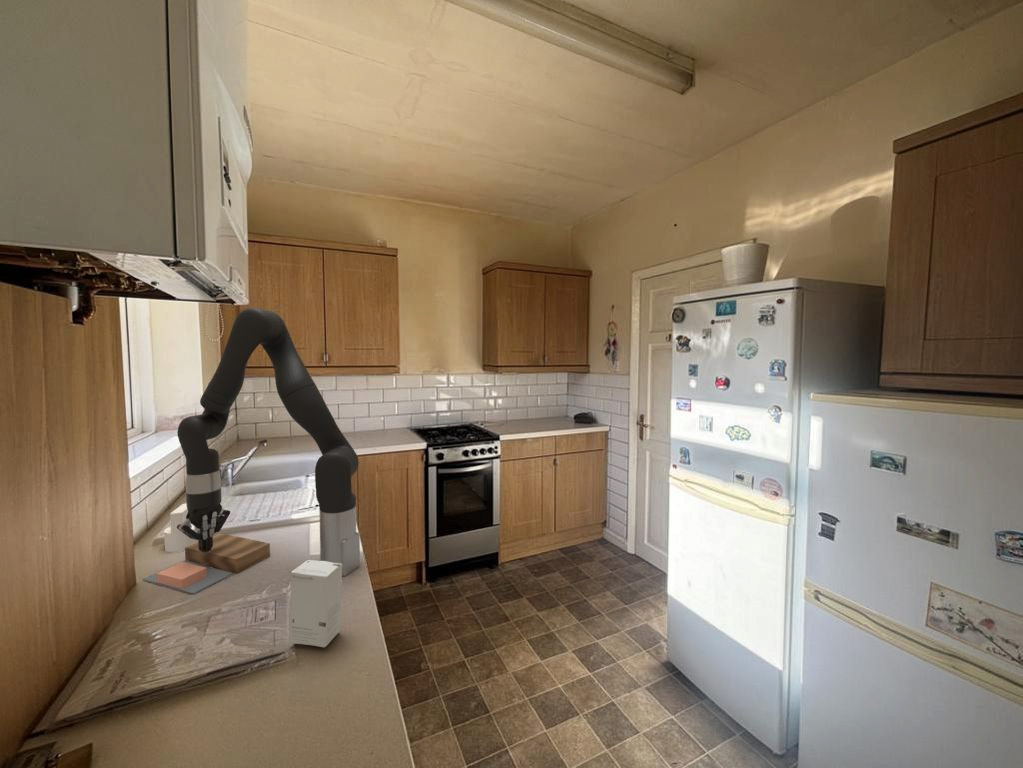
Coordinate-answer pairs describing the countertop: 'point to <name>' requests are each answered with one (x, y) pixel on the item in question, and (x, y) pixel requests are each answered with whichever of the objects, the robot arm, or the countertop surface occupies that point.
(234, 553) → the deck
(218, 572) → the mat
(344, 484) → the robot arm
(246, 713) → the countertop surface
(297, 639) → the skincare box
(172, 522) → the base with upright slab
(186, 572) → the salmon pink flat block
